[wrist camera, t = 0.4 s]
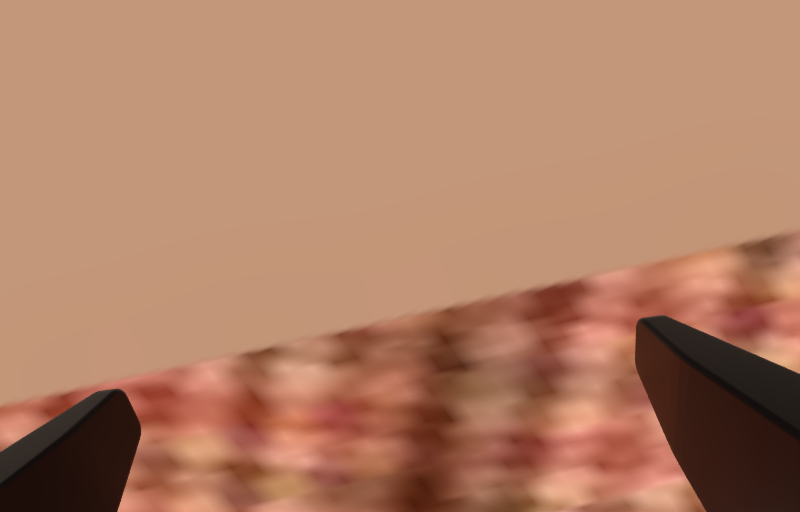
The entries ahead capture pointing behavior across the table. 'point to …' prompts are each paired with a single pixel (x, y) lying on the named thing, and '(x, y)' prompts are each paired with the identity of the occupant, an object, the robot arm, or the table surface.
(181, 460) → the table surface
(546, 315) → the table surface
